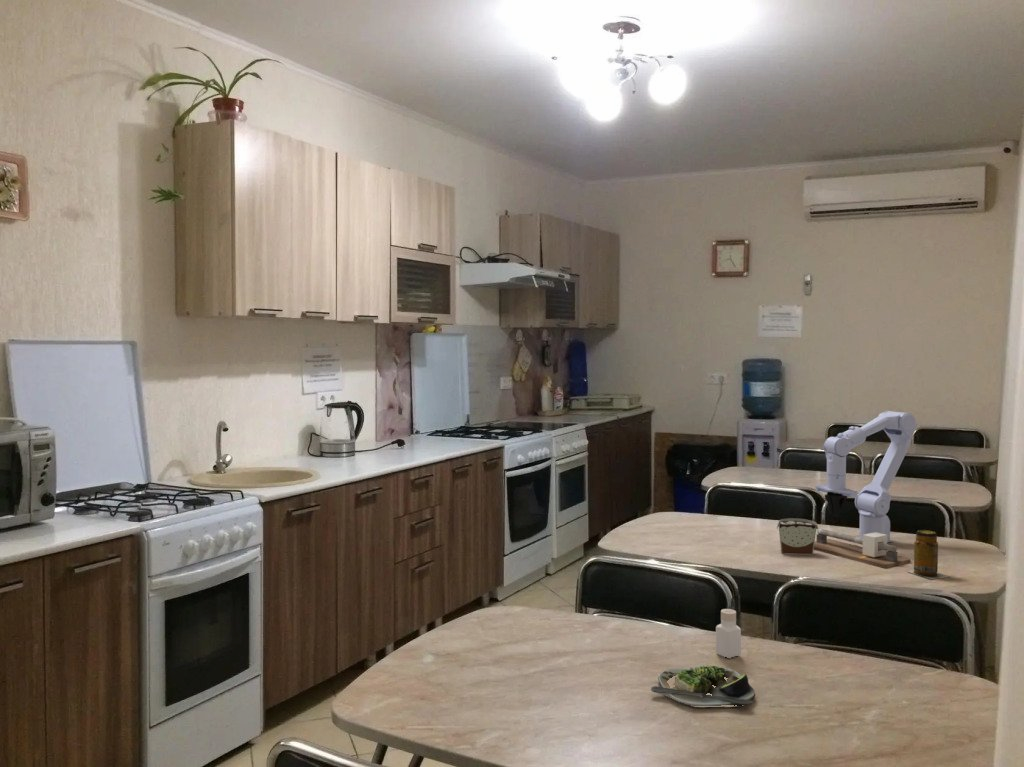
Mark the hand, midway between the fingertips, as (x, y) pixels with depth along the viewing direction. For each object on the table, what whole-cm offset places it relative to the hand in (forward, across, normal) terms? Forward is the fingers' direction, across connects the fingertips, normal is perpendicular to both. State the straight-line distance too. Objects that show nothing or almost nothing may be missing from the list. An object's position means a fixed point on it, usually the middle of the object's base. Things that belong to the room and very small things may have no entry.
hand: (835, 516), depth 264 cm
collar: (+8, +17, -4) cm, 19 cm away
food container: (+10, -1, -17) cm, 20 cm away
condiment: (+10, +35, -5) cm, 37 cm away
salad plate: (+10, +60, -112) cm, 127 cm away
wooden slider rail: (+9, +10, -4) cm, 15 cm away
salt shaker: (+10, +49, -96) cm, 108 cm away
